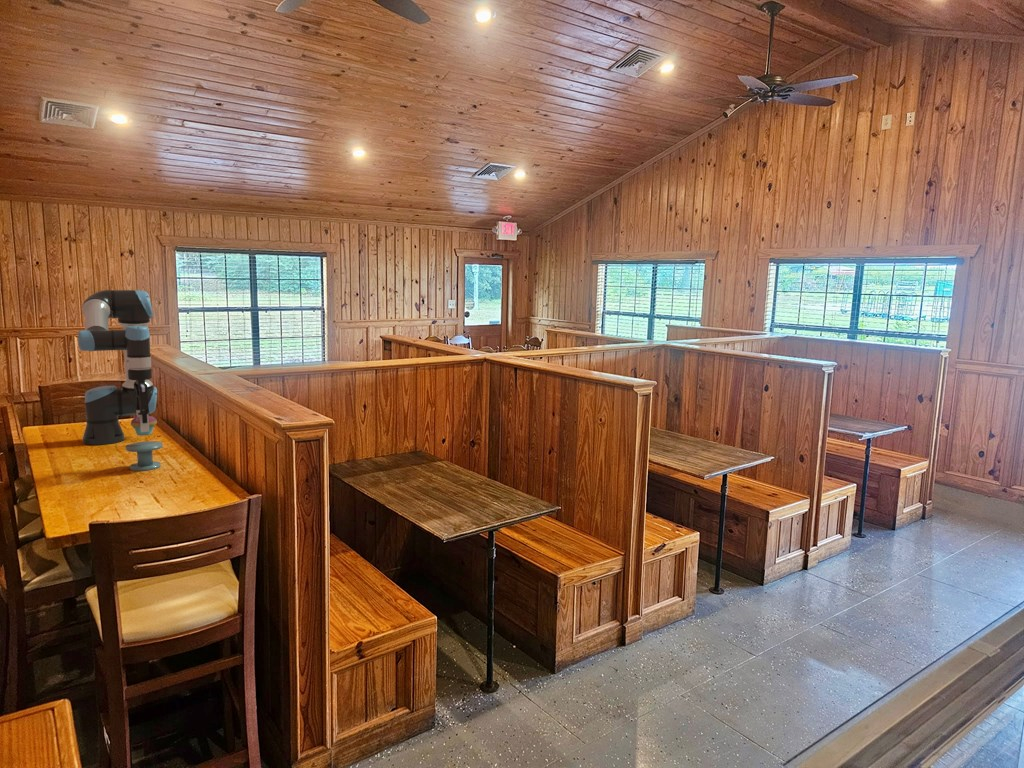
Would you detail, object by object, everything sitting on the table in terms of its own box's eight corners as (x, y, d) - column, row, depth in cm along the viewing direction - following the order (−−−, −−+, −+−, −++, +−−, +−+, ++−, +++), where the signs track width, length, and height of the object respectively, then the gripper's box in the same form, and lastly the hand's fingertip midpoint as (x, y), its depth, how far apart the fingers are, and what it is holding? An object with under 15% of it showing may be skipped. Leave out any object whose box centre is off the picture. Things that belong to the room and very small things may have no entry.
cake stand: (125, 465, 244) (123, 443, 242) (161, 461, 251) (159, 439, 249) (129, 473, 234) (127, 450, 233) (166, 468, 241) (165, 446, 240)
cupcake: (129, 433, 241) (127, 401, 239) (155, 430, 246) (153, 399, 245) (134, 437, 235) (132, 405, 233) (160, 434, 240) (158, 403, 238)
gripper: (124, 365, 243) (128, 425, 246) (131, 372, 226) (135, 436, 229) (147, 364, 247) (150, 423, 251) (155, 371, 231) (159, 433, 234)
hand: (143, 429), depth 240 cm, fingers closed on cupcake, 8 cm apart
